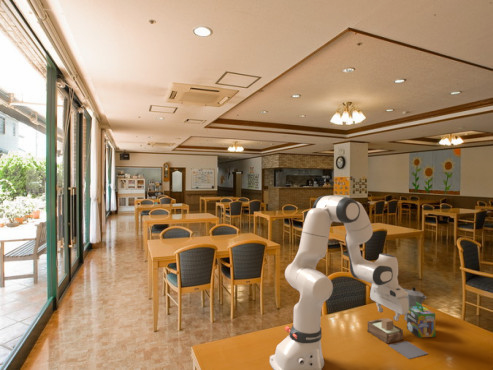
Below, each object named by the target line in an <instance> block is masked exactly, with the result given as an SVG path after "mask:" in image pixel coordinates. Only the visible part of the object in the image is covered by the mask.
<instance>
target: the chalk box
mask: <svg viewBox="0 0 493 370" xmlns="http://www.w3.org/2000/svg"><path fill="white" fill-rule="evenodd" d="M416 305H417V306H413V307H409V311H408V313H407V321H406V329H407V330H408V331H409V332H410V333H412V335H414V336H415V337H417V339H419V338H435V337H436V333H437V331H436V313H435V312H433V311H432V310H431V309H428V308H427V307H425V306H423V304H422V305H421V304H419V303H418V302H416ZM418 305H419V306H420V307H419V306H418Z"/></svg>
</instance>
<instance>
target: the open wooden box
mask: <svg viewBox="0 0 493 370" xmlns="http://www.w3.org/2000/svg"><path fill="white" fill-rule="evenodd" d="M382 319H384V318H378V319H372V320H368V321H367V332H368V333H370V334H371V335H372V336H374V337H375V338H377V339H379V340H380V341H382V342H383V343H384V344H387V345H389V344H393V343H394V342H395V343H397V342H401V341H404V329H403V328H401V327H399V326H397V325H395V324H394V323H393V327H395V328H397V329H399V330H400V332H396V333H392V334H387V333H386V332H384V331H383V330H381V329H380V328H378V327H376V326H375V325H373V324H372V323H377V322H382Z"/></svg>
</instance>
